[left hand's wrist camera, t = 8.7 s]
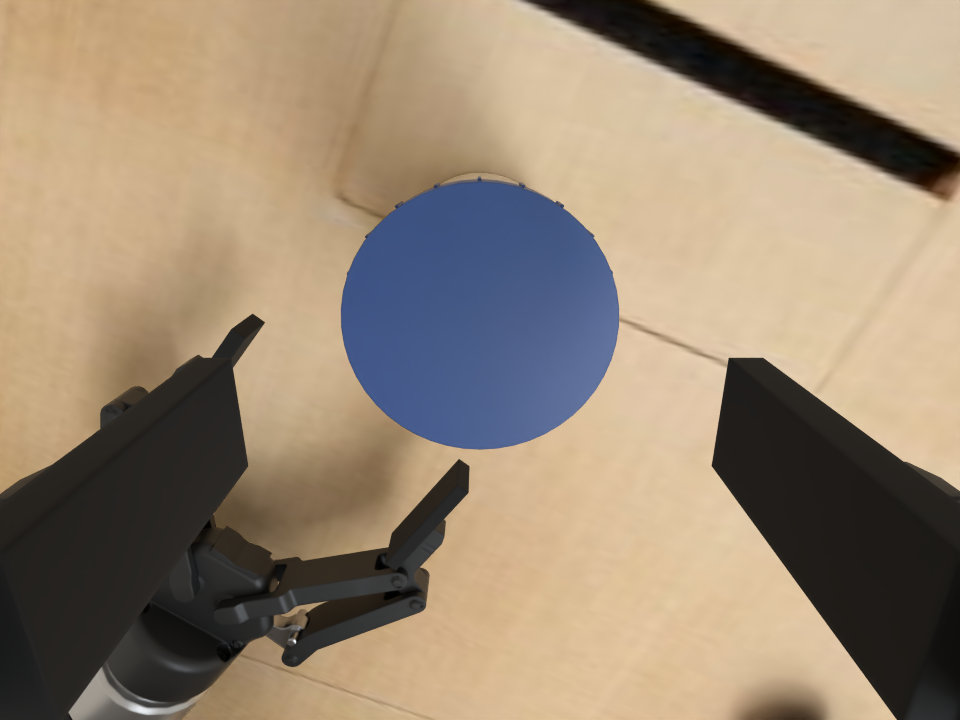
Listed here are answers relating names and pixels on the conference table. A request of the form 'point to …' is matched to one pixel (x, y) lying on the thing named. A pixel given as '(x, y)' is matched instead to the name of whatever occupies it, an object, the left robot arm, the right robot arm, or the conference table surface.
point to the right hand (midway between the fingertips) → (362, 403)
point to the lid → (479, 314)
